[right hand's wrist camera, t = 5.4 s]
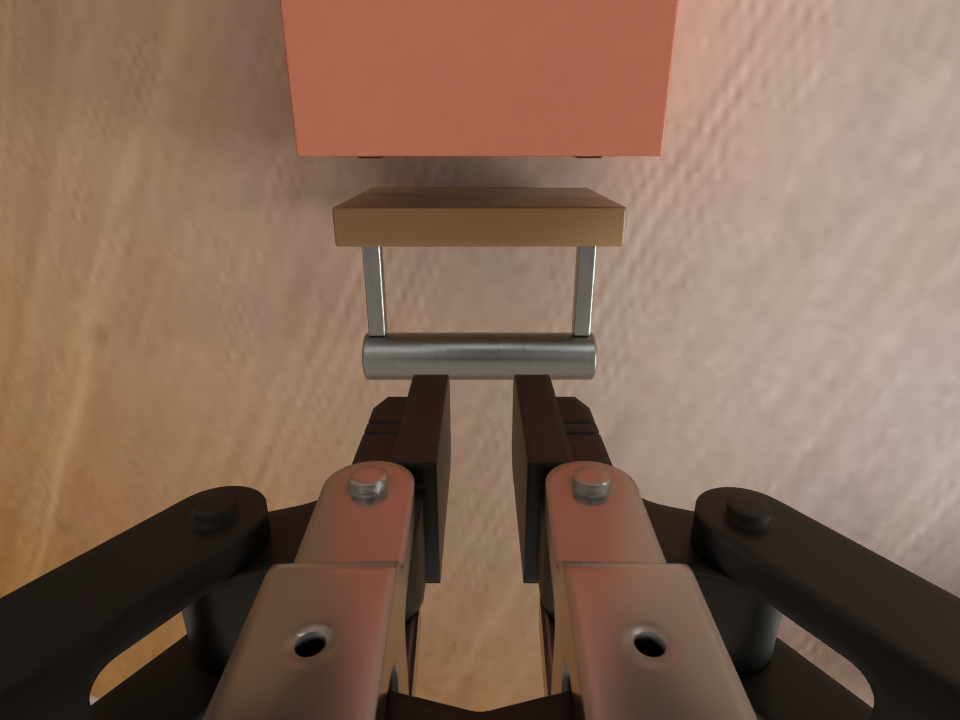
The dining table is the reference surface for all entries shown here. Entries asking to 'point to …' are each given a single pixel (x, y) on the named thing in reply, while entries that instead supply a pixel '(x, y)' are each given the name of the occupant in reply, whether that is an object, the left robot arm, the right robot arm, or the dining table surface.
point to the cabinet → (479, 76)
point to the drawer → (479, 224)
